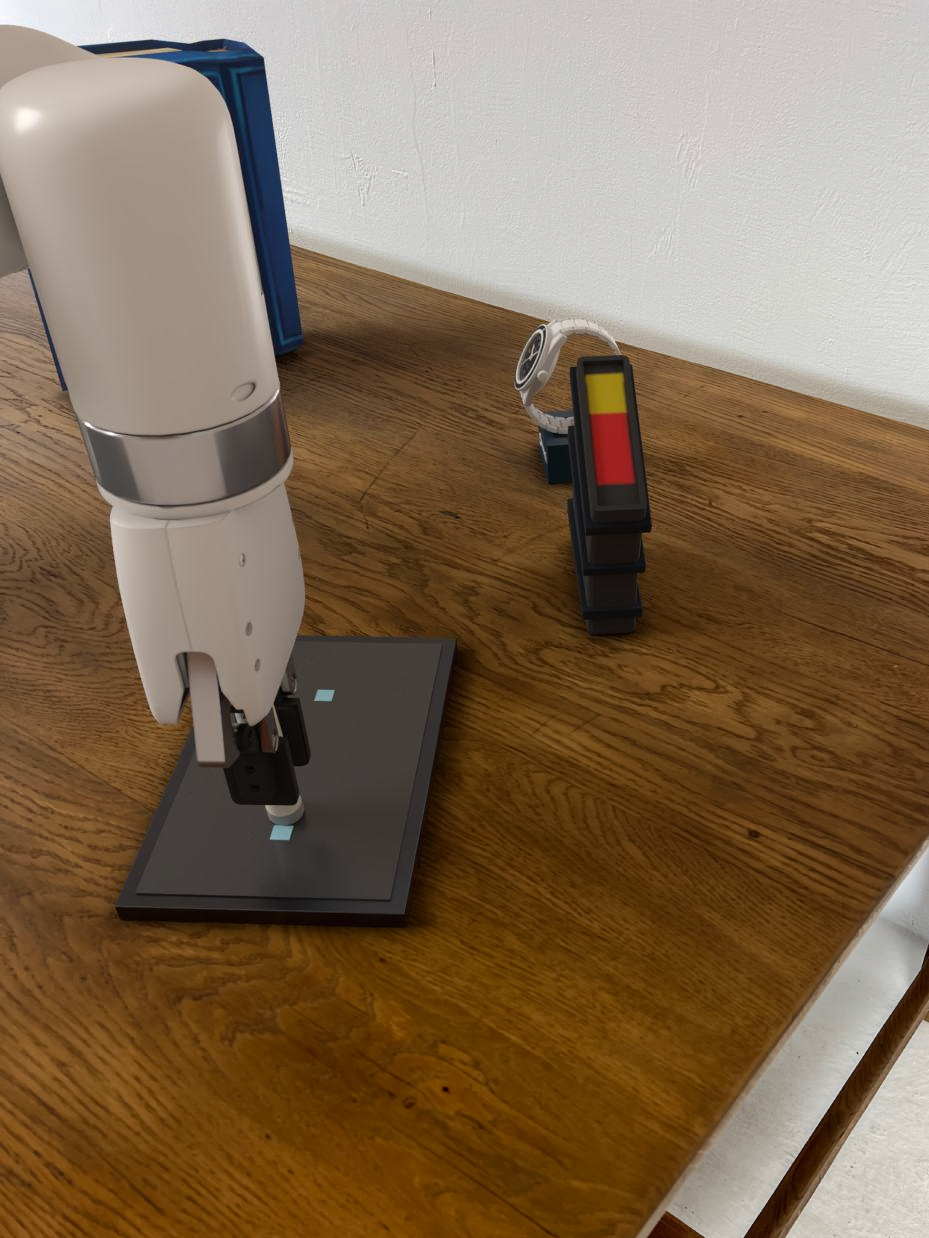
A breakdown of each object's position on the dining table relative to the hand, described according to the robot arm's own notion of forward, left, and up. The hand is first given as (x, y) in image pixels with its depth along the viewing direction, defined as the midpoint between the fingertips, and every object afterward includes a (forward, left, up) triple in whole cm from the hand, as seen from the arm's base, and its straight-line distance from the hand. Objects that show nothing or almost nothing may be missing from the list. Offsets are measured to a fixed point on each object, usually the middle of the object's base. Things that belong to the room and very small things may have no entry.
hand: (272, 779), depth 57 cm
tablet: (0, +5, -4) cm, 7 cm away
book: (-21, +56, -4) cm, 60 cm away
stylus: (0, +1, -3) cm, 3 cm away
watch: (+13, +40, -4) cm, 43 cm away
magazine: (+16, +22, -4) cm, 28 cm away
